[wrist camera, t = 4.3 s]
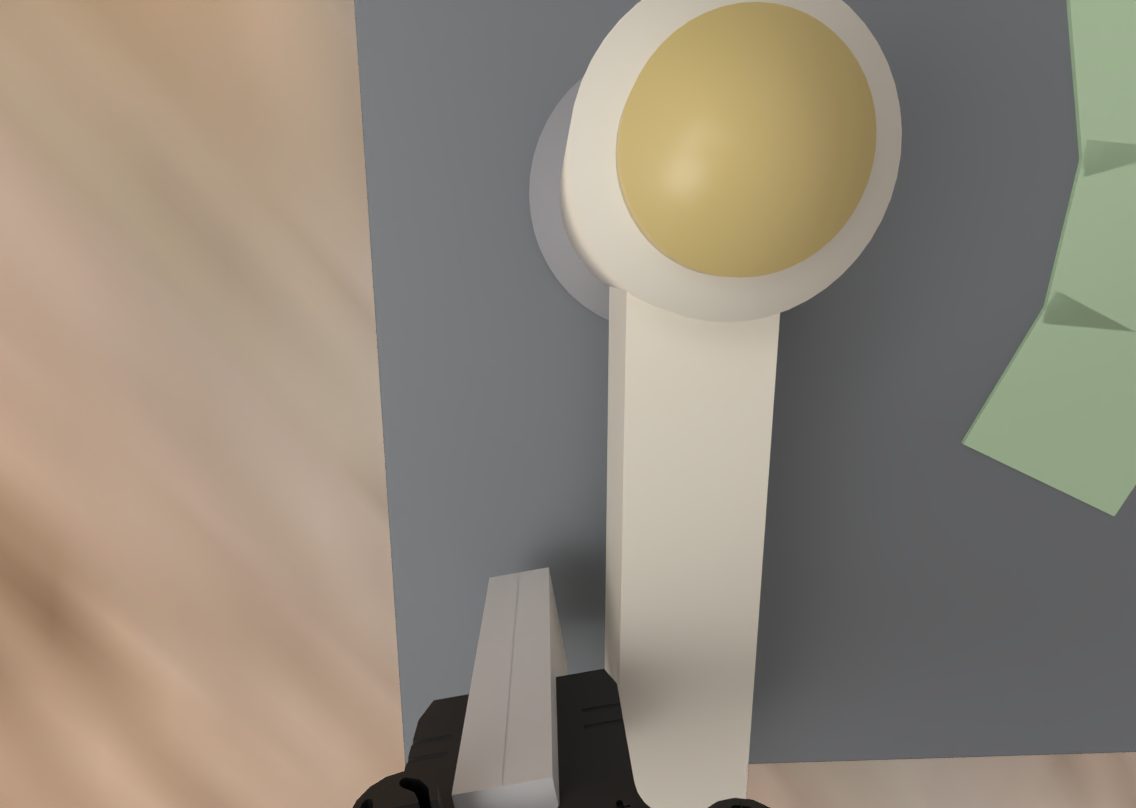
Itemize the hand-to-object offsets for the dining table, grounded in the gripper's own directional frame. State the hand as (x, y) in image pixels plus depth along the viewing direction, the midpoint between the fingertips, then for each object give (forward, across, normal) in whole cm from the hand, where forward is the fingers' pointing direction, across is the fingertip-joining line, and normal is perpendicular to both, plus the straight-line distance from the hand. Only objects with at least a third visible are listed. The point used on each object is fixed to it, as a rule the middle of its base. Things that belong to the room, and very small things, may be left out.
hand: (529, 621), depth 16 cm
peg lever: (+1, +4, +3) cm, 5 cm away
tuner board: (+3, +10, +5) cm, 12 cm away
